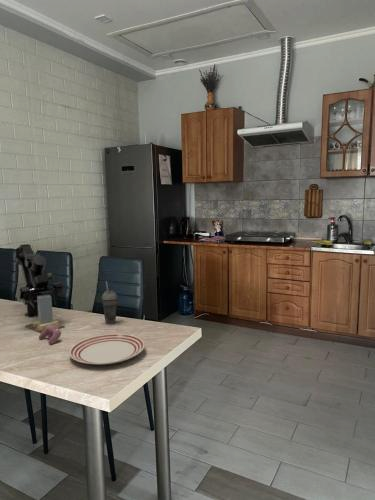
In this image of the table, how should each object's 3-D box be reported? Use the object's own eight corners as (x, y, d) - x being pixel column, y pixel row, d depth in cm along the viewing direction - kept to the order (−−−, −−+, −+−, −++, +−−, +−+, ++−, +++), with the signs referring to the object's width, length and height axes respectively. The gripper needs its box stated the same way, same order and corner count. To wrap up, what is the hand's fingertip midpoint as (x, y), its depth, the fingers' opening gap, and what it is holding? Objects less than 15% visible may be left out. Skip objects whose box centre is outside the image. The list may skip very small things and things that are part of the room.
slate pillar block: (38, 321, 172) (37, 295, 170) (49, 319, 174) (48, 294, 173) (41, 324, 168) (39, 298, 166) (52, 322, 170) (51, 296, 169)
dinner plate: (112, 377, 122) (111, 367, 121) (53, 361, 135) (52, 352, 134) (159, 348, 145) (158, 340, 145) (104, 337, 159) (104, 329, 158)
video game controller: (58, 346, 152) (64, 329, 154) (48, 344, 149) (55, 327, 150) (46, 340, 159) (52, 324, 160) (37, 338, 156) (43, 322, 157)
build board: (25, 326, 173) (25, 321, 172) (47, 320, 181) (47, 315, 181) (42, 333, 163) (41, 327, 163) (64, 327, 171) (64, 321, 171)
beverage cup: (116, 325, 173) (114, 282, 171) (100, 325, 173) (99, 282, 171) (119, 320, 180) (118, 279, 178) (104, 320, 180) (103, 279, 178)
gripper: (18, 270, 166) (25, 299, 158) (61, 265, 176) (69, 293, 169) (16, 284, 173) (22, 313, 166) (57, 279, 184) (65, 306, 176)
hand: (45, 305), depth 169 cm, fingers open, 9 cm apart
